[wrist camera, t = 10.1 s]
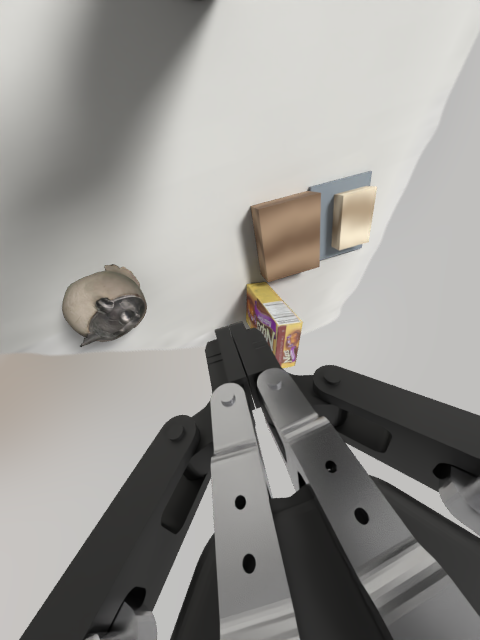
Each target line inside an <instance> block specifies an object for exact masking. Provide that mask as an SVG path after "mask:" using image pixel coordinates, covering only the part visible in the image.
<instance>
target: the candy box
mask: <svg viewBox="0 0 480 640" xmlns="http://www.w3.org/2000/svg"><path fill="white" fill-rule="evenodd" d="M246 321H247V323H248V325H249V326H250V328H254V327H255V328H256V329H258V330H259V331H261V332H262V334H263V336H264V337H265V340H266V341H267V343H268V345H269V346H270V348H271V350H272V352H273V353H274V355H275V357H276V359H277V361H278V362H279V364H280V366H281V367H282V368H287V367H291V366H295V362H296V358H297V351H298V346H299V340H300V335H301V329H302V323H303V322H302V321H301V320H300V319H299V318H298V317H297V315H296V314H295V313H294V312H293V311H292V310H291V309H290V308H289V307H288V306H287V305H286V303H285V302H284V301H283V300H282V299H281V298H280V297H279V296H278V295H277V294H276V293H275V292H274V291H273V289H272V288H271V287H270V286H269V285H268V284H267V283H266V282H261V283H251V284H247V311H246Z"/></svg>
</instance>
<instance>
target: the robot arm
mask: <svg viewBox="0 0 480 640" xmlns="http://www.w3.org/2000/svg"><path fill="white" fill-rule="evenodd" d="M229 328H230V330H229ZM230 331H231V333H230ZM215 333H216V337H217V339H216V340H213V341H210V342H208V343H207V346H206V349H205V353H206V358H207V364H208V369H209V375H210V381H211V386H212V396H211V399H210V401H209V403H208V404H207V406H206V407H205V408H204V409H202V410H201V411H200V412H198V413H197V414H195V415H194V416H193V417H189V416H187V415H179V416H176V417H174V418H172V419H170V420H169V421H168V422H166V424H165V425H164V426H163V427H162V429H161V430H160V432H159V433H158V435H157V436H156V437H155V439H154V441H153V442H152V443H151V445H150V446H149V448H148V449H147V451H146V453H145V454H144V455H143V457H142V459H141V460H140V461H139V463H138V464H137V466H136V467H135V469H134V470H133V472H132V473H131V475H130V476H129V478H128V479H127V481H126V482H125V483H124V485H123V487H122V488H121V489H120V491H119V492H118V494H117V495H116V497H115V498H114V500H113V501H112V503H111V504H110V506H109V507H108V509H107V510H106V512H105V513H104V515H103V516H102V518H101V519H100V521H99V522H98V524H97V525H96V527H95V528H94V530H93V531H92V532H91V534H90V536H89V537H88V538H87V540H86V541H85V543H84V544H83V546H82V547H81V549H80V550H79V552H78V553H77V555H76V556H75V558H74V559H73V561H72V562H71V564H70V565H69V567H68V568H67V570H66V571H65V573H64V574H63V576H62V577H61V579H60V580H59V581H58V583H57V585H56V586H55V587H54V589H53V591H52V592H51V593H50V595H49V596H48V598H47V599H46V601H45V602H44V604H43V605H42V607H41V609H40V610H39V611H38V613H37V614H36V616H35V617H34V619H33V620H32V622H31V623H30V624H29V626H28V628H27V629H26V630H25V632H24V634H23V635H22V636H21V638H20V639H19V640H157V627H156V621H155V618H154V615H153V614H152V611H153V608H154V606H155V604H156V602H157V599H158V597H159V595H160V593H161V590H162V588H163V586H164V583H165V581H166V579H167V577H168V574H169V572H170V570H171V567H172V565H173V563H174V561H175V558H176V556H177V553H178V552H179V549H180V547H181V545H182V542H183V540H184V538H185V536H186V533H187V531H188V529H189V526H190V524H191V522H192V520H193V517H194V515H195V512H196V510H197V508H198V506H199V504H200V501H201V499H202V497H203V495H204V492H205V490H206V488H207V485H208V483H209V481H210V479H211V481H212V498H213V515H214V531H215V533H214V534H213V535H212V537H211V538H210V540H209V541H208V543H207V545H206V546H205V548H204V550H203V552H202V554H201V556H200V558H199V561H198V563H197V566H196V568H195V572H194V574H193V577H192V580H191V582H190V585H189V588H188V591H187V594H186V597H185V600H184V602H183V605H182V608H181V611H180V613H179V616H178V619H177V622H176V625H175V627H174V630H173V633H172V636H171V639H170V640H480V538H478V537H477V536H475V535H473V534H472V533H470V532H468V531H467V530H465V529H464V528H462V527H460V526H459V525H457V524H455V523H454V522H452V521H450V520H449V519H447V518H445V517H444V516H442V515H441V514H439V513H437V512H436V511H434V510H432V509H431V508H429V507H427V506H426V505H424V504H422V503H421V502H419V501H417V500H416V499H414V498H412V497H411V496H409V495H408V494H406V493H404V492H403V491H401V490H399V489H398V488H396V487H394V486H393V485H391V484H389V483H387V482H385V481H383V480H381V479H379V478H376V477H373V476H371V475H368V474H367V472H366V471H365V469H364V468H363V467H362V465H361V464H360V463H359V461H358V460H357V459H356V457H355V456H354V454H353V453H352V452H351V450H350V449H349V448H348V446H347V445H346V443H347V444H349V445H351V446H353V447H355V448H357V449H358V450H360V451H362V452H364V453H366V454H368V455H370V456H372V457H374V458H375V459H377V460H379V461H381V462H383V463H385V464H387V465H389V466H390V467H392V468H394V469H396V470H398V471H400V472H402V473H404V474H406V475H407V476H409V477H411V478H413V479H415V480H417V481H419V482H421V483H422V484H425V485H426V486H428V487H430V488H432V489H434V490H436V491H437V492H439V494H440V496H441V499H442V501H443V503H444V504H445V506H446V507H447V509H448V510H449V511H450V513H451V514H452V515H453V516H454V517H455V518H457V519H458V520H459V521H460V522H461V523H463V524H464V525H466V526H467V527H469V528H470V529H472V530H473V531H474V532H475V533H477V534H478V535H479V536H480V416H479V415H476V414H473V413H470V412H468V411H465V410H462V409H459V408H456V407H453V406H450V405H447V404H445V403H442V402H439V401H436V400H433V399H430V398H427V397H425V396H422V395H419V394H416V393H413V392H410V391H407V390H404V389H401V388H398V387H396V386H393V385H390V384H387V383H384V382H381V381H378V380H376V379H373V378H370V377H367V376H364V375H361V374H358V373H356V372H353V371H350V370H347V369H344V368H341V367H338V366H334V365H326V366H322V367H320V368H319V369H317V370H316V371H315V373H314V375H303V376H298V375H293V374H290V373H288V372H286V371H285V370H283V369H282V367H281V366H280V364H279V362H278V361H277V359H276V357H275V355H274V353H273V352H272V350H271V348H270V346H269V345H268V343H267V341H266V340H265V337H264V336H263V334H262V332H261V331H259V330H258V329H256V328H255V327H254V328H251V329H248V330H246V328H245V326H244V324H243V322H242V321H241V322H238V323H235V324H231V325H229V327H228V326H225V327H222V328H219V329H216V330H215ZM231 335H232V336H231ZM232 338H233V339H232ZM251 395H252V396H251ZM252 397H253V400H254V403H255V406H256V408H260V407H261V408H262V411H263V413H264V416H265V420H266V423H267V426H268V428H269V430H270V432H271V435H272V437H273V439H274V441H275V443H276V445H277V448H278V450H279V452H280V454H281V456H282V458H283V460H284V463H285V465H286V467H287V470H288V473H289V475H290V478H291V480H292V483H293V486H294V488H295V490H296V493H295V494H293V495H292V496H291V497H288V498H272V494H271V490H270V486H269V482H268V478H267V474H266V471H265V466H264V462H263V458H262V454H261V450H260V445H259V441H258V437H257V433H256V429H255V420H254V417H253V413H252V410H254V409H255V407H254V403H253V400H252Z"/></svg>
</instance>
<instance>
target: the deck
mask: <svg viewBox="0 0 480 640" xmlns="http://www.w3.org/2000/svg"><path fill="white" fill-rule="evenodd" d="M251 212H252V219H253V225H254V232H255V239H256V245H257V252H258V259H259V265H260V272H261V275H262V276H263V277H264V278H265V279H266V281H267V282H270V281H274V280H277V279H280V278H284V277H287V276H290V275H294V274H297V273H300V272H304V271H307V270H310V269H314V268H317V267H319V264H320V215H321V193H320V192H312V191H306V192H302V193H298V194H294V195H291V196H287V197H283V198H279V199H276V200H272V201H268V202H264V203H261V204H257V205H253V206H251Z"/></svg>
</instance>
